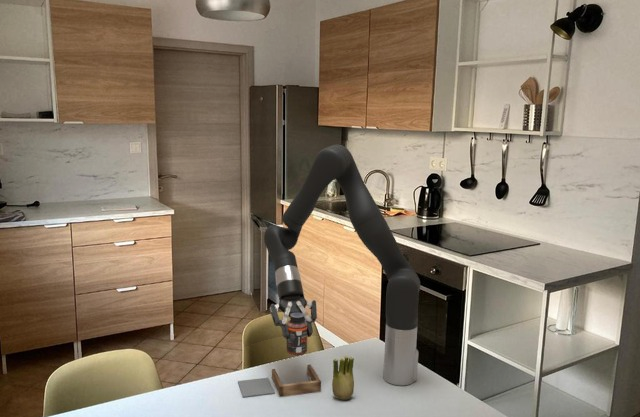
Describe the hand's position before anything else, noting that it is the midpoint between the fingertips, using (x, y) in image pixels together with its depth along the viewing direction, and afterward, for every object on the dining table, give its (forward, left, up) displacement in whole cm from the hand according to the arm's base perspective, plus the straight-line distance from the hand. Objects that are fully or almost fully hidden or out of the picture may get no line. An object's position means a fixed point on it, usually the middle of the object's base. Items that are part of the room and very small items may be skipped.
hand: (298, 336), depth 151 cm
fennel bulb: (-11, +8, -16) cm, 21 cm away
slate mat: (+12, -3, -15) cm, 19 cm away
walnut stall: (0, -2, -15) cm, 16 cm away
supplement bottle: (0, -2, -5) cm, 6 cm away
